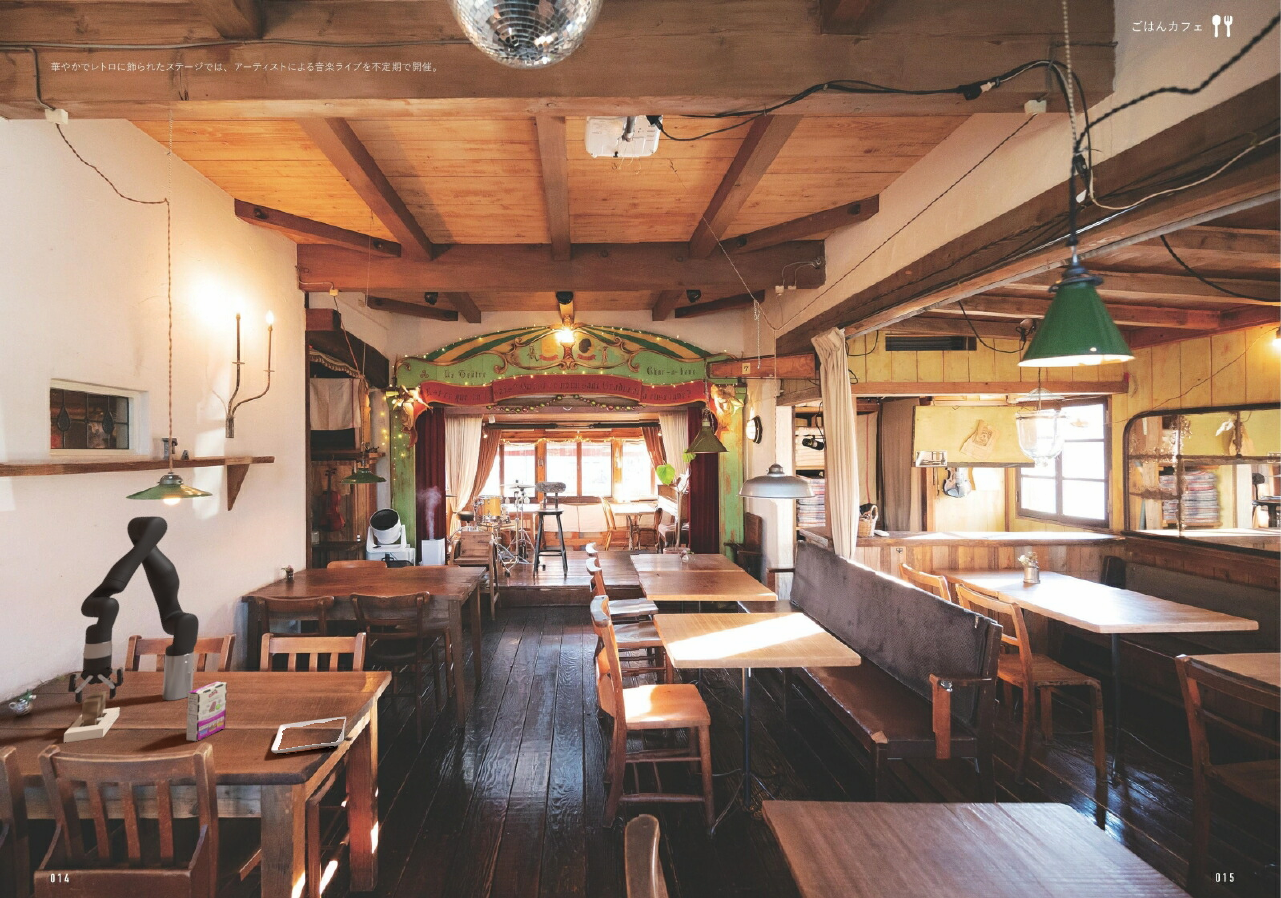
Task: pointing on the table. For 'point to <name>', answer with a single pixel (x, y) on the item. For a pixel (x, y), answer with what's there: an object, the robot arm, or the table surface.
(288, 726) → the rectangular frame
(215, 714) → the candy bar box
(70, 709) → the table surface
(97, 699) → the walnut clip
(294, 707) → the table surface
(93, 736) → the slotted block
